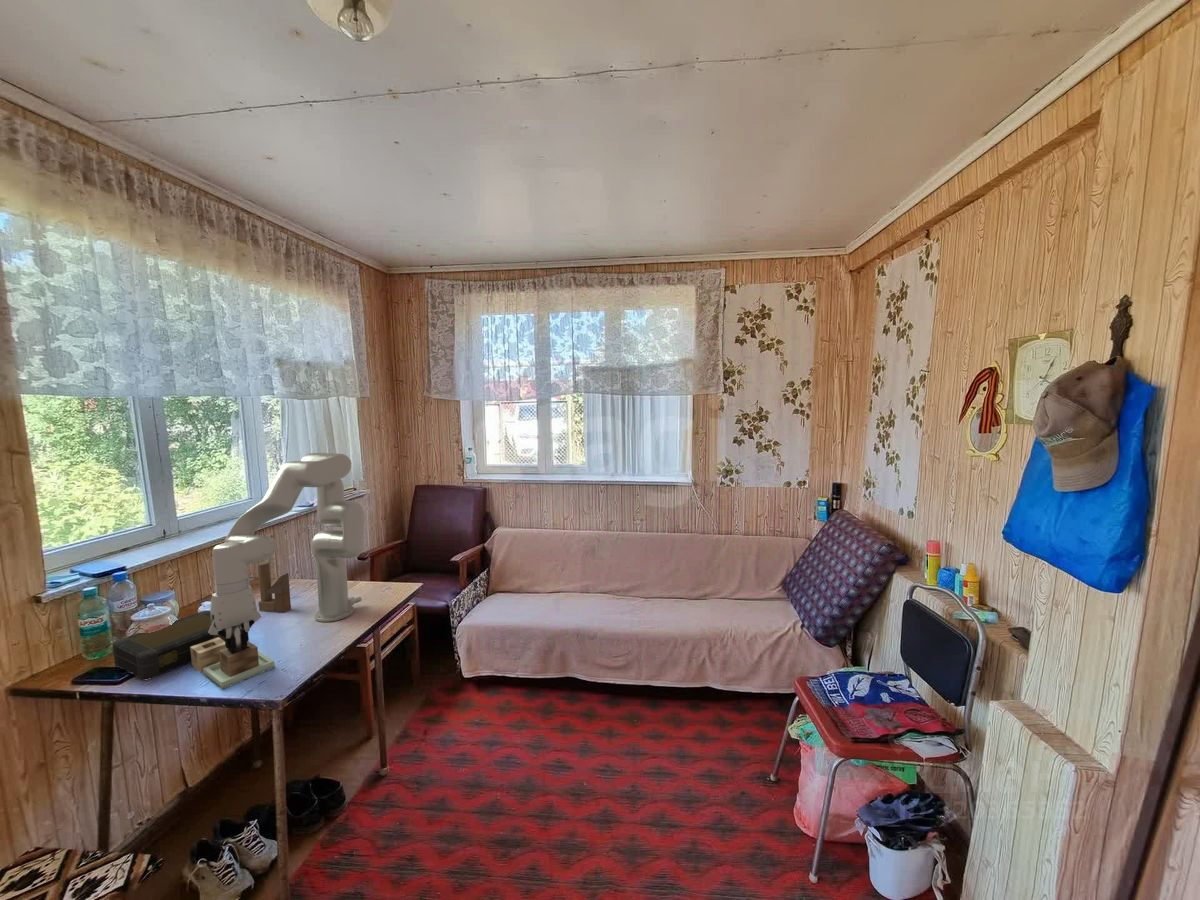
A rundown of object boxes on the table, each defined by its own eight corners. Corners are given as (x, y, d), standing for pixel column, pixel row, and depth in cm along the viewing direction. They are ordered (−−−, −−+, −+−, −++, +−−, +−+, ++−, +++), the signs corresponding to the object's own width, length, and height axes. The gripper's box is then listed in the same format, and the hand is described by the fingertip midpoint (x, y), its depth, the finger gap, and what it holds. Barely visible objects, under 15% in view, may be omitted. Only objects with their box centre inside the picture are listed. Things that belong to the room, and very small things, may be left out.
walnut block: (248, 659, 146) (246, 640, 145) (259, 666, 142) (257, 646, 141) (220, 670, 140) (218, 650, 139) (230, 677, 136) (229, 657, 136)
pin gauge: (241, 655, 142) (238, 623, 141) (244, 657, 141) (241, 625, 140) (232, 659, 140) (229, 626, 139) (235, 661, 139) (232, 628, 138)
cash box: (208, 629, 167) (206, 608, 166) (242, 642, 158) (240, 619, 157) (111, 665, 145) (108, 641, 144) (144, 682, 136) (141, 656, 135)
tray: (255, 654, 150) (254, 648, 150) (274, 667, 143) (274, 661, 143) (203, 674, 139) (202, 668, 139) (222, 689, 132) (221, 682, 132)
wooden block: (283, 613, 179) (280, 566, 177) (258, 611, 181) (254, 564, 179) (291, 608, 183) (288, 562, 181) (266, 606, 185) (263, 561, 183)
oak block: (220, 655, 150) (218, 637, 149) (229, 662, 146) (227, 643, 145) (192, 666, 144) (190, 646, 143) (200, 673, 140) (199, 653, 140)
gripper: (258, 574, 147) (263, 632, 149) (191, 592, 134) (198, 655, 136) (269, 579, 143) (274, 638, 145) (202, 598, 129) (208, 663, 131)
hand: (237, 646), depth 140 cm, fingers open, 2 cm apart
